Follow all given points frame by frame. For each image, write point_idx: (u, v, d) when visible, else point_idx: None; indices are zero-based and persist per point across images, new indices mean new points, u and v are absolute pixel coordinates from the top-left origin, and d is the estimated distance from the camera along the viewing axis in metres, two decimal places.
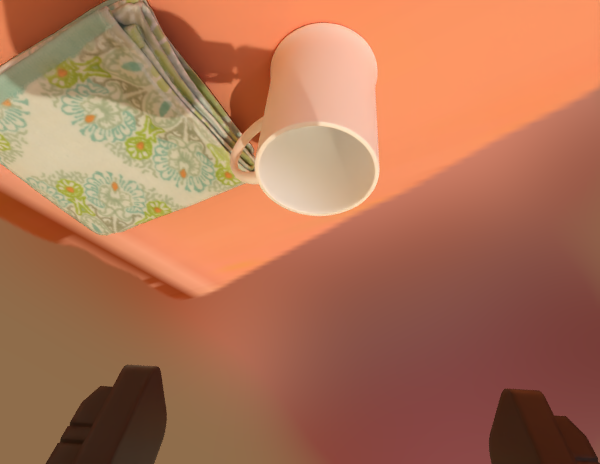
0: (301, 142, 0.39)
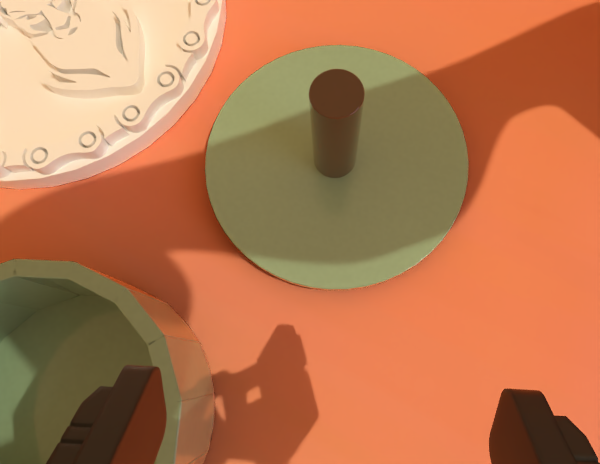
0: None
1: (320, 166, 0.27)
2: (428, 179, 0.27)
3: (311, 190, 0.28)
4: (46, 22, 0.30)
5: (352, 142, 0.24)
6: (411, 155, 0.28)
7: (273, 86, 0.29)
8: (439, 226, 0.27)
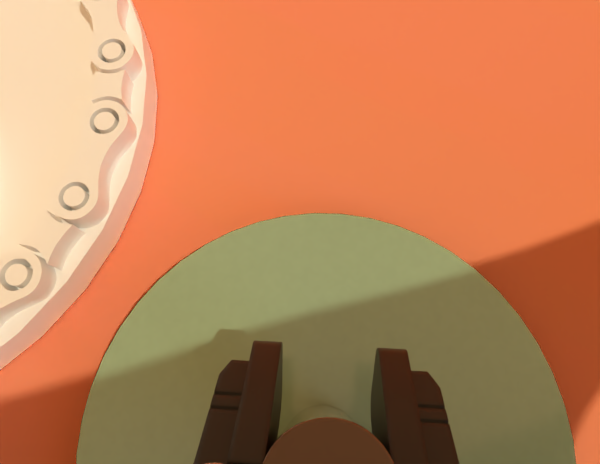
0: None
1: None
2: None
3: None
4: None
5: None
6: (468, 451, 0.15)
7: (218, 286, 0.16)
8: None
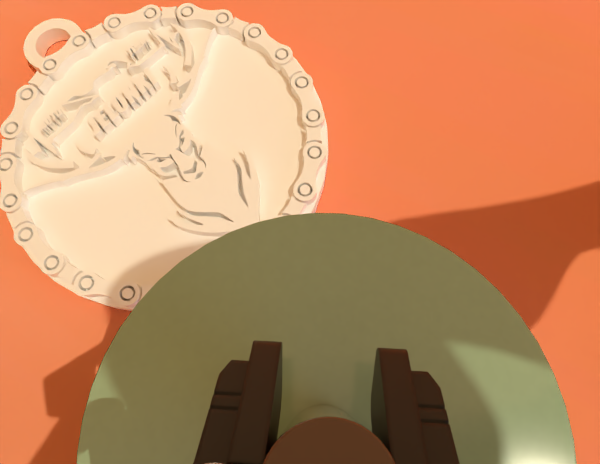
0: None
1: None
2: None
3: None
4: (174, 164, 0.34)
5: None
6: (468, 451, 0.15)
7: (218, 286, 0.16)
8: None
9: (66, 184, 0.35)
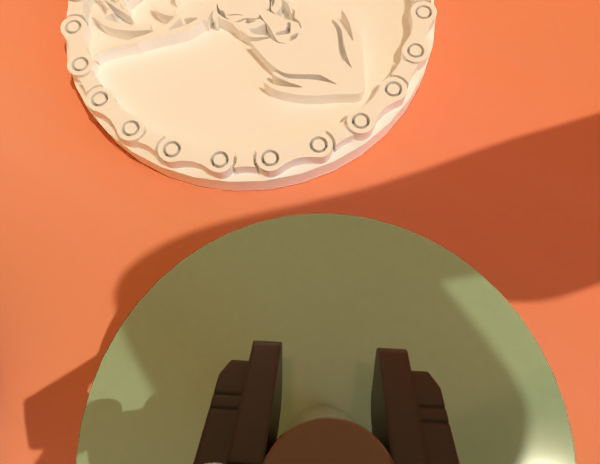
0: None
1: None
2: None
3: None
4: (264, 27, 0.31)
5: None
6: (468, 451, 0.15)
7: (218, 286, 0.16)
8: None
9: (141, 49, 0.31)
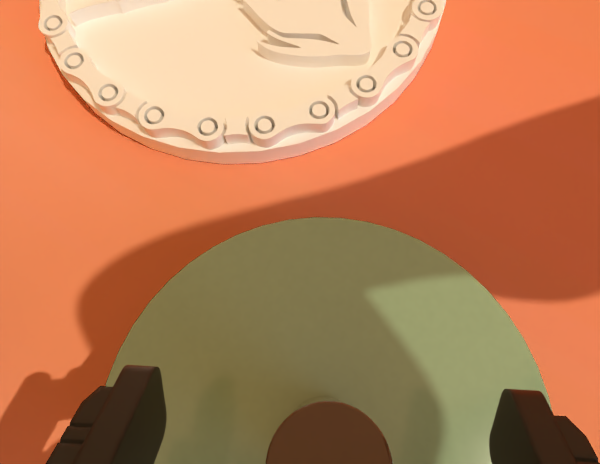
0: None
1: None
2: None
3: None
4: None
5: None
6: (458, 439, 0.16)
7: (225, 286, 0.17)
8: None
9: (122, 8, 0.28)
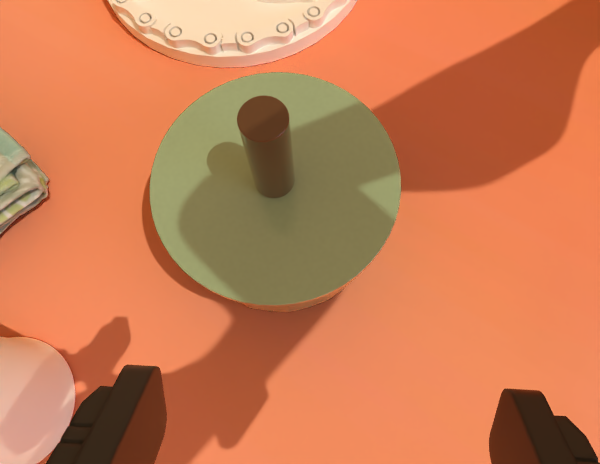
0: None
1: (258, 186, 0.28)
2: (361, 204, 0.29)
3: (249, 209, 0.29)
4: None
5: (283, 164, 0.25)
6: (347, 180, 0.29)
7: (221, 108, 0.31)
8: (368, 249, 0.28)
9: None
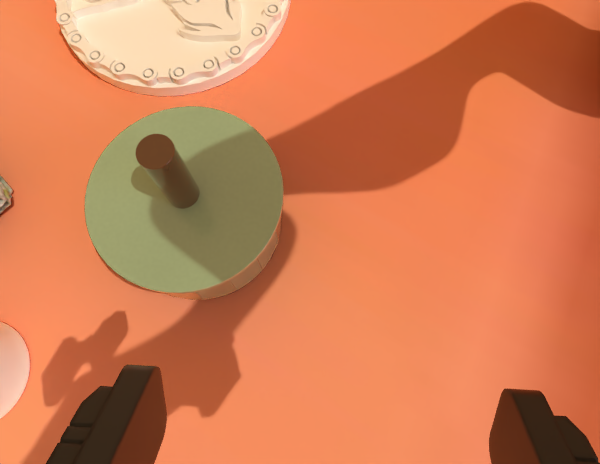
0: None
1: (167, 199, 0.36)
2: (251, 213, 0.36)
3: (162, 217, 0.36)
4: None
5: (178, 184, 0.33)
6: (241, 194, 0.37)
7: (145, 135, 0.38)
8: (253, 249, 0.36)
9: (103, 9, 0.49)
